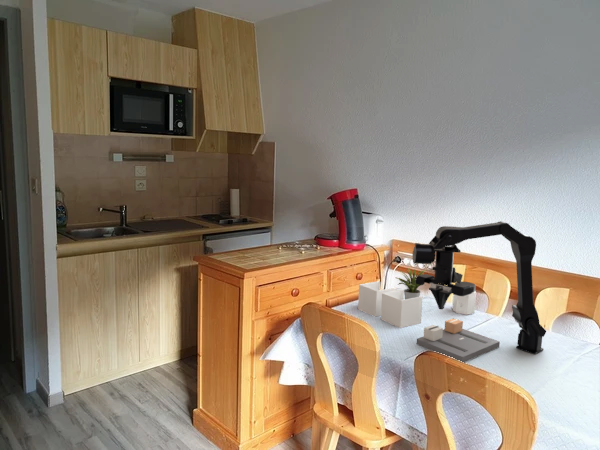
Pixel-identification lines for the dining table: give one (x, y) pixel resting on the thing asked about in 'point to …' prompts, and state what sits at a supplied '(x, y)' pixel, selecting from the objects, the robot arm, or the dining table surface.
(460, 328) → the right fader
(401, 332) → the dining table surface
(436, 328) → the left fader
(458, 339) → the mixer board
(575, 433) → the dining table surface
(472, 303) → the jar
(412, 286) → the house plant
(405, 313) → the white cube planter
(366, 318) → the dining table surface
